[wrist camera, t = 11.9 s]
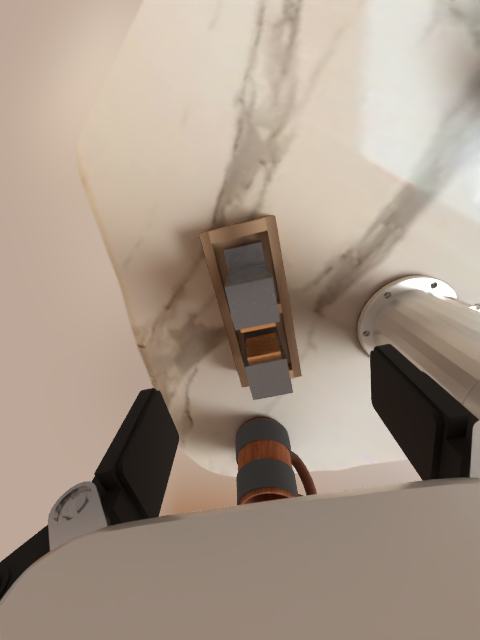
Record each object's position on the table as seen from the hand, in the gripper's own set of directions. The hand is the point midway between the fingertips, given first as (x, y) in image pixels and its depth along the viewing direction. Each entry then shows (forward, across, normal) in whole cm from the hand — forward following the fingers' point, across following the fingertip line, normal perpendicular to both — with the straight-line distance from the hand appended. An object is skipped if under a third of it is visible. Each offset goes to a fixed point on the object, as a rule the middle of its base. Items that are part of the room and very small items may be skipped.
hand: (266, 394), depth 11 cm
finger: (+20, 0, -1) cm, 20 cm away
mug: (+22, +2, +28) cm, 36 cm away
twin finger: (+20, 0, +9) cm, 22 cm away
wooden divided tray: (+22, 0, +4) cm, 23 cm away
